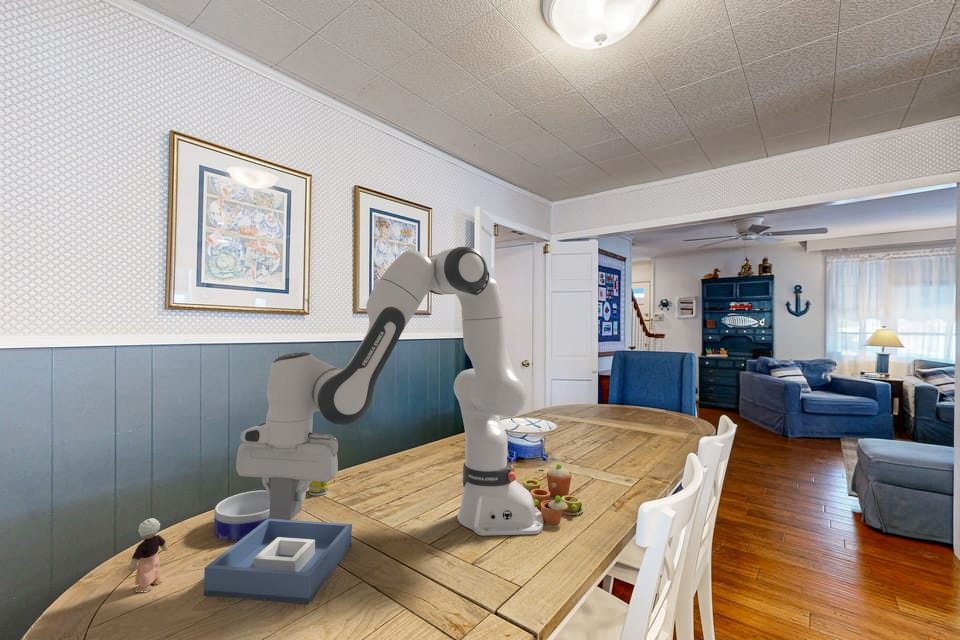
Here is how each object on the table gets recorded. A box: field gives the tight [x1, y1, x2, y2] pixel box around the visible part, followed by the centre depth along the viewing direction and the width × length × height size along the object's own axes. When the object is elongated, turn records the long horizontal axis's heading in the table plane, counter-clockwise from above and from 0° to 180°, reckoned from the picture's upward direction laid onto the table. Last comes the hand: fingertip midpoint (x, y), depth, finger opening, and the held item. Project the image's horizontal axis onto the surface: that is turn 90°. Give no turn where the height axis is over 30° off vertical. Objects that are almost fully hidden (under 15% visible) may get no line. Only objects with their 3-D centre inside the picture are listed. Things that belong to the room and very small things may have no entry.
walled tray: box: [203, 519, 353, 605], centre depth 87 cm, size 20×20×5 cm
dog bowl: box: [213, 489, 270, 542], centre depth 104 cm, size 15×15×6 cm
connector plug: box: [269, 478, 303, 520], centre depth 87 cm, size 4×4×9 cm
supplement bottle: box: [308, 481, 330, 497], centre depth 126 cm, size 5×5×10 cm
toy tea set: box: [522, 463, 584, 526], centre depth 122 cm, size 26×16×10 cm, turn 8°
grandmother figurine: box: [128, 517, 169, 592], centre depth 80 cm, size 8×4×13 cm, turn 5°
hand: (286, 499), depth 87 cm, fingers closed on connector plug, 4 cm apart
